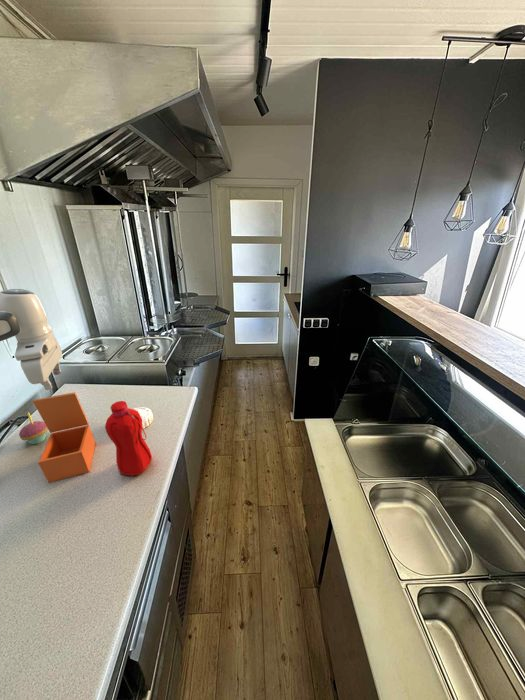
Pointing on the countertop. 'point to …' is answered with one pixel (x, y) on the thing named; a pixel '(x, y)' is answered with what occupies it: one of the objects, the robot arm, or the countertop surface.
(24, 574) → the countertop surface
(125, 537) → the countertop surface
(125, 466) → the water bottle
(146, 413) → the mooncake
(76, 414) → the box lid
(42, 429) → the cupcake
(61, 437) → the box
